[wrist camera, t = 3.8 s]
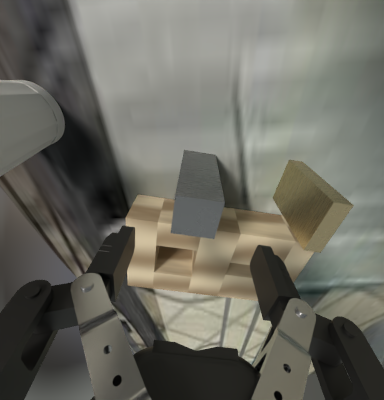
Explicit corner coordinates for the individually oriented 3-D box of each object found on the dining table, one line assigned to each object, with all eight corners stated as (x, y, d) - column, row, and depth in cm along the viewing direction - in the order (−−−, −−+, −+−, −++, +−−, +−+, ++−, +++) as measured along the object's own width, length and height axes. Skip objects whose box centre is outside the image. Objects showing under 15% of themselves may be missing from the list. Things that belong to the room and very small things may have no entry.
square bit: (184, 149, 23) (175, 195, 14) (215, 154, 23) (224, 202, 14) (180, 178, 25) (170, 233, 16) (209, 182, 25) (214, 239, 16)
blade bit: (289, 159, 23) (333, 202, 15) (302, 161, 23) (353, 205, 15) (272, 197, 26) (303, 250, 18) (284, 199, 26) (320, 252, 18)
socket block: (137, 194, 26) (125, 217, 22) (300, 218, 27) (319, 244, 23) (137, 257, 32) (127, 285, 28) (269, 274, 34) (279, 303, 29)
